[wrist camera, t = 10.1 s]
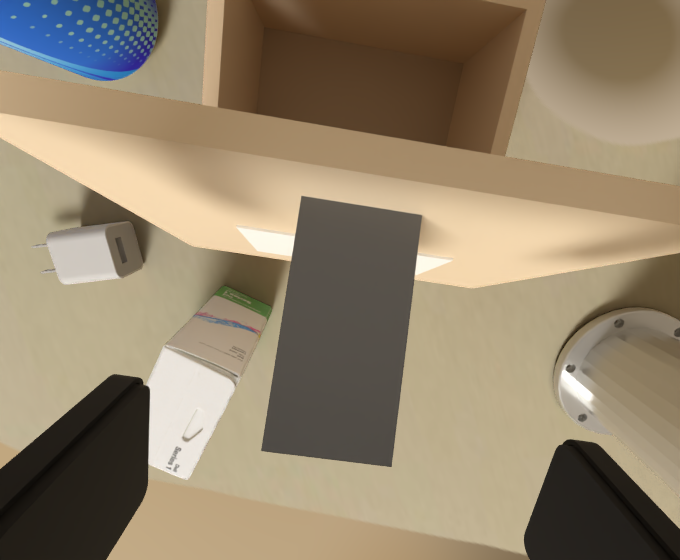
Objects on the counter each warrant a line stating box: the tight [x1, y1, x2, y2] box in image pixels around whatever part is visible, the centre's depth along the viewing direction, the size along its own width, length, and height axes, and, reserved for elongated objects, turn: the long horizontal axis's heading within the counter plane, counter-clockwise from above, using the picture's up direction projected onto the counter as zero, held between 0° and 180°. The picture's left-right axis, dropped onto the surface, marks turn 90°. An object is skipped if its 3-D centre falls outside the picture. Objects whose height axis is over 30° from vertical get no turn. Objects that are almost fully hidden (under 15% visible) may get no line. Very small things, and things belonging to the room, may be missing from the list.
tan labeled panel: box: [0, 70, 680, 467], centre depth 14 cm, size 16×14×7 cm
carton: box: [202, 0, 546, 156], centre depth 24 cm, size 16×14×10 cm
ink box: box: [146, 286, 272, 479], centre depth 28 cm, size 8×5×12 cm, turn 152°
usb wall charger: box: [32, 221, 143, 285], centre depth 29 cm, size 4×7×4 cm, turn 97°
